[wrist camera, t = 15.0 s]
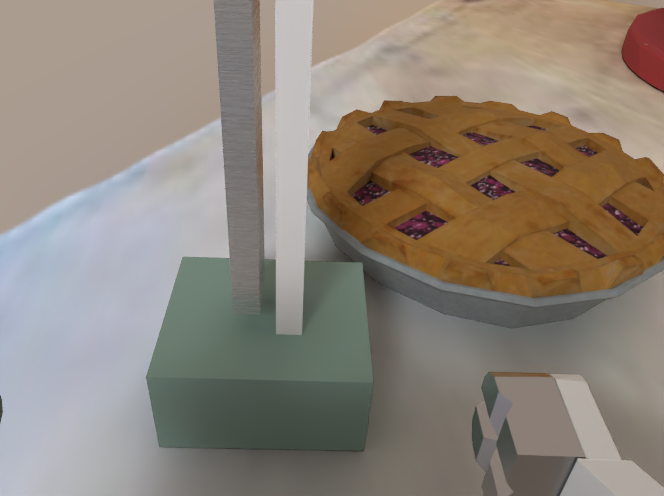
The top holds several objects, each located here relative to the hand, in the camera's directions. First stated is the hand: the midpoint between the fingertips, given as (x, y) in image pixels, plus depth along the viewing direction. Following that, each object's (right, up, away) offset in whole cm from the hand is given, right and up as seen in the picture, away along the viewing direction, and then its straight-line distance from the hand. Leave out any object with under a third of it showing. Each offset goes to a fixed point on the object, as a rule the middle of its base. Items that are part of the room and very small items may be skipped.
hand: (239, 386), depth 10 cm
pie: (+11, +4, +28) cm, 30 cm away
